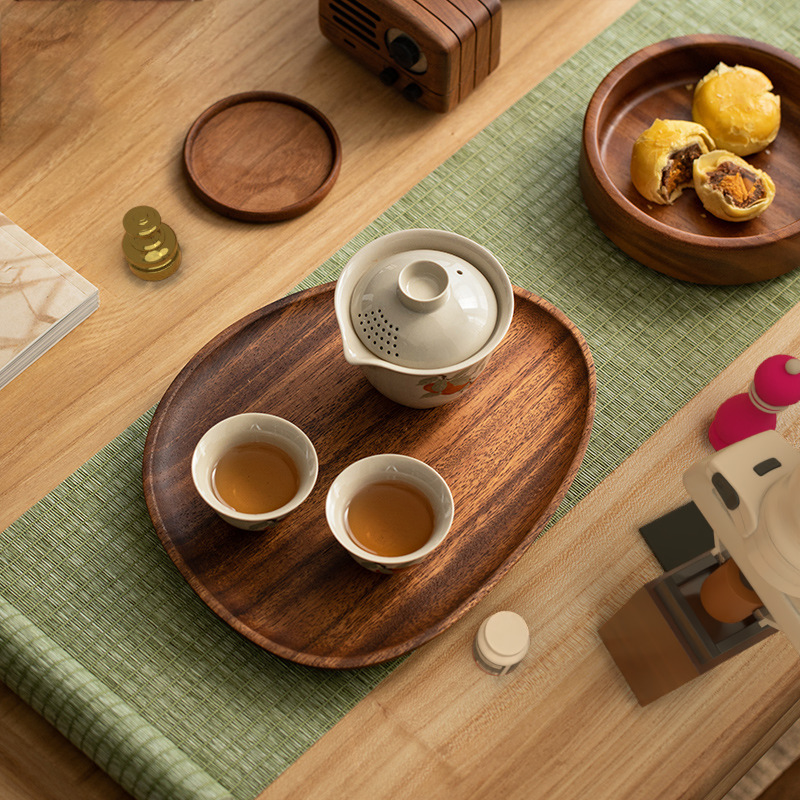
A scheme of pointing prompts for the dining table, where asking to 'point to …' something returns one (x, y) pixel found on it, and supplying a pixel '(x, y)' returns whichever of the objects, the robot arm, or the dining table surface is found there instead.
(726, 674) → the dining table surface
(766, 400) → the pepper mill
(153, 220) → the brass knob weight
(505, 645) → the pill bottle
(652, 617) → the stand
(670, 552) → the slate mat
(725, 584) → the amber bottle
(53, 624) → the dining table surface
